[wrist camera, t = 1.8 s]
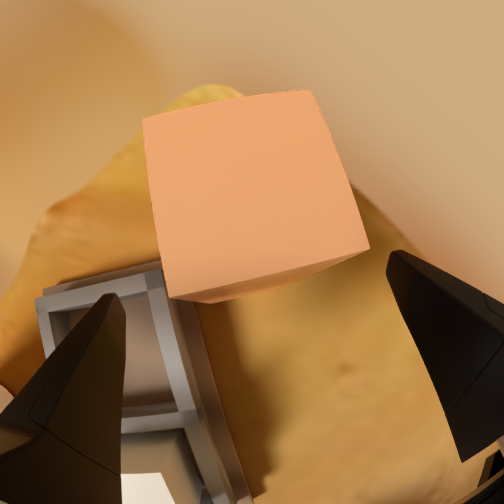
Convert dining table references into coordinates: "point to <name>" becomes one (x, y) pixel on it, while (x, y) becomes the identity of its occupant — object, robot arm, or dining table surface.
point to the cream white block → (158, 469)
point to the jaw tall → (248, 196)
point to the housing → (158, 369)
